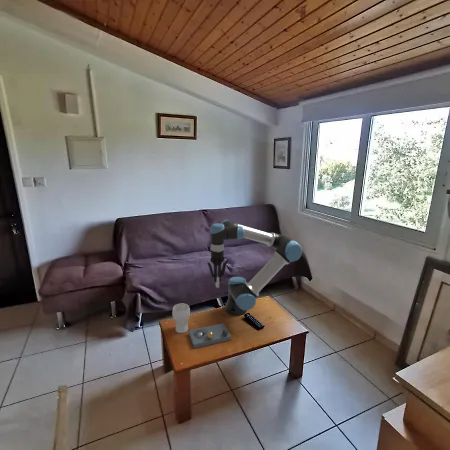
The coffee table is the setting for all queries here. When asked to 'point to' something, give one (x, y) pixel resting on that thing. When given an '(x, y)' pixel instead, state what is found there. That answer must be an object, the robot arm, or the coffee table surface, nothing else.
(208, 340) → the plate
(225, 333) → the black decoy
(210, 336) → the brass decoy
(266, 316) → the coffee table surface
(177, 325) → the cup
